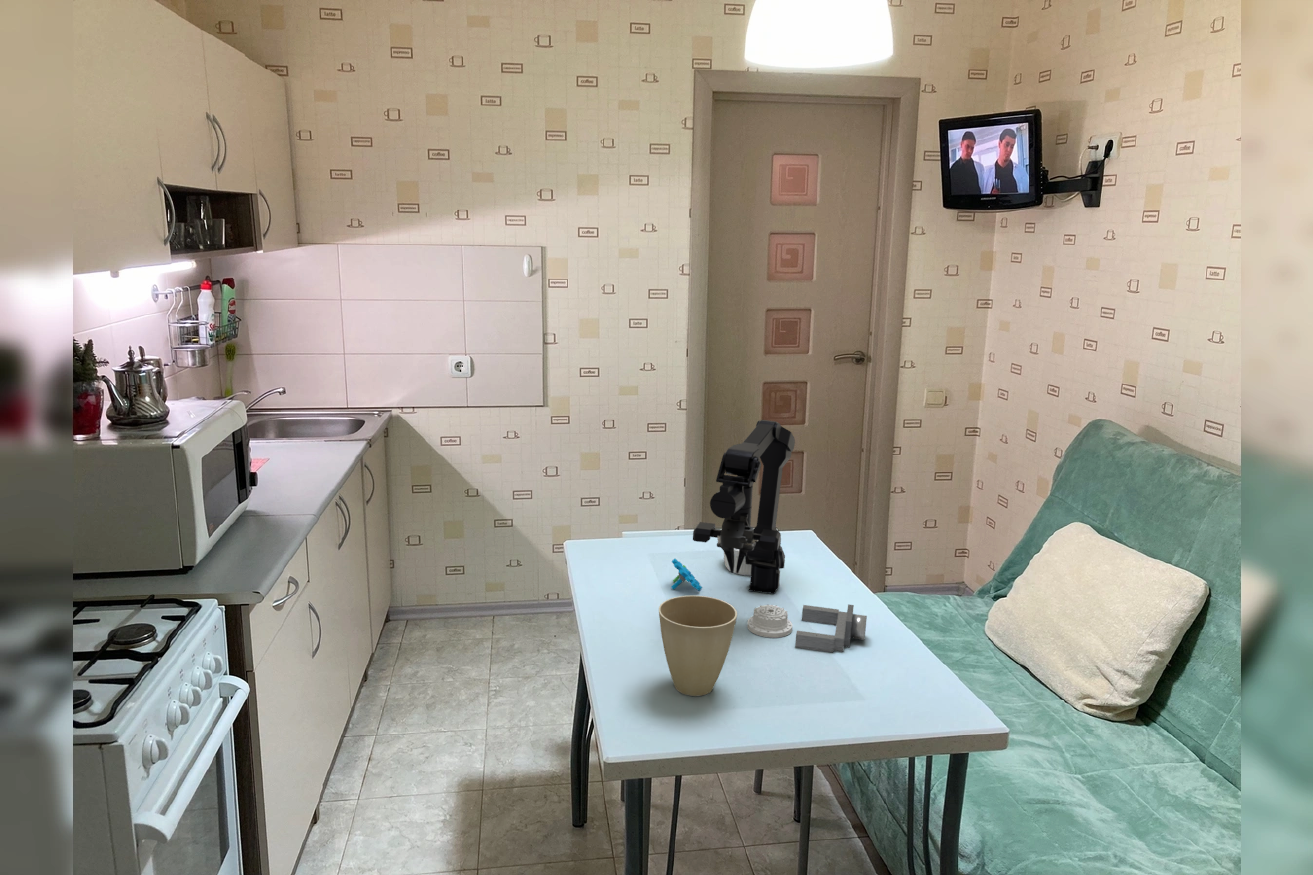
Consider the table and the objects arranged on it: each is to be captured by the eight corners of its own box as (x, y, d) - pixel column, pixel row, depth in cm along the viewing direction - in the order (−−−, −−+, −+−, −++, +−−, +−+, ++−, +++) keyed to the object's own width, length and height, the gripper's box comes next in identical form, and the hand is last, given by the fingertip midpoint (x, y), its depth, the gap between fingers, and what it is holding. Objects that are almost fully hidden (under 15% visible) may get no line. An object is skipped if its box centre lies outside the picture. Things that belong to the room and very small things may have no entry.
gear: (705, 591, 219) (676, 561, 218) (687, 608, 219) (658, 578, 218) (701, 579, 230) (674, 551, 229) (684, 595, 230) (657, 567, 229)
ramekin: (712, 562, 242) (713, 537, 240) (755, 556, 247) (757, 532, 246) (737, 581, 230) (738, 554, 229) (782, 574, 236) (783, 548, 234)
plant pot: (729, 710, 169) (733, 631, 165) (649, 701, 172) (652, 622, 168) (736, 672, 183) (740, 598, 180) (662, 664, 186) (665, 591, 182)
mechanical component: (744, 636, 200) (790, 641, 198) (745, 617, 199) (792, 622, 197) (749, 617, 210) (793, 622, 208) (750, 599, 209) (794, 604, 207)
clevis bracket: (795, 647, 195) (797, 621, 194) (802, 616, 210) (804, 592, 209) (863, 656, 192) (865, 630, 190) (865, 625, 207) (868, 600, 206)
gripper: (688, 511, 194) (685, 580, 198) (776, 521, 190) (772, 591, 194) (699, 497, 205) (696, 562, 209) (783, 505, 201) (778, 572, 204)
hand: (734, 572), depth 203 cm, fingers closed
